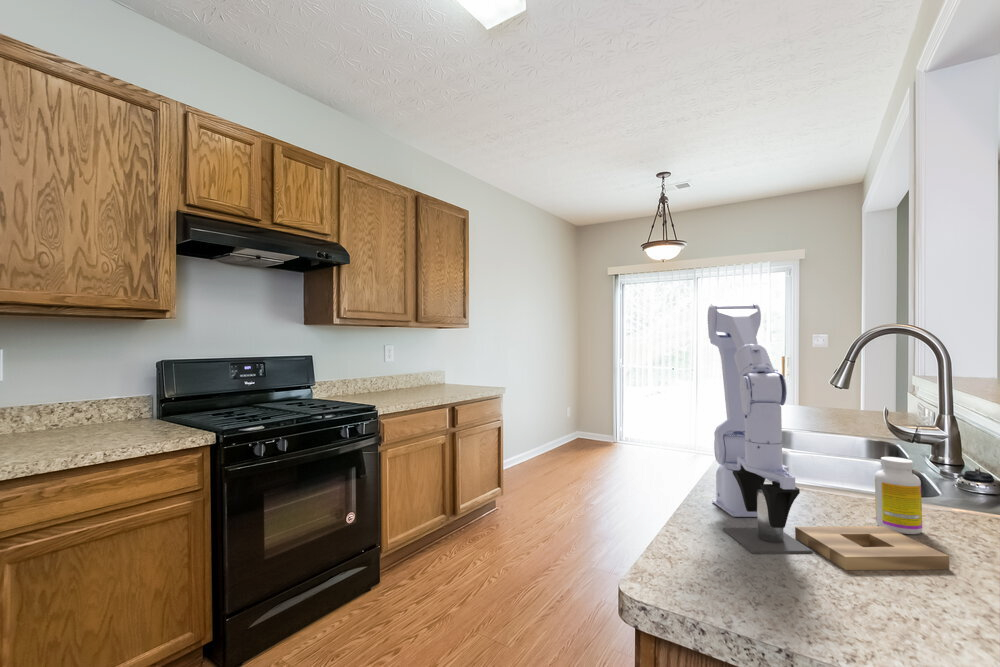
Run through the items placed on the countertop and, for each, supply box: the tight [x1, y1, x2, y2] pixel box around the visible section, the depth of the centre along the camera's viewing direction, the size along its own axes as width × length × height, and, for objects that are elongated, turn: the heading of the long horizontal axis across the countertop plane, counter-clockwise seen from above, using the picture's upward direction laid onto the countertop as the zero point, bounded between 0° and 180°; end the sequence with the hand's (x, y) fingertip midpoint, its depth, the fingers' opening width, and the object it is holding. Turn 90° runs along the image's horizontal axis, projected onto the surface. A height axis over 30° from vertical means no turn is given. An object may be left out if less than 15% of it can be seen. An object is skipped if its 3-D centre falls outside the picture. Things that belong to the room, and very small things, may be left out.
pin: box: [756, 489, 785, 543], centre depth 83 cm, size 4×4×8 cm
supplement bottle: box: [874, 456, 923, 535], centre depth 88 cm, size 7×7×13 cm
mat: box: [722, 527, 814, 555], centre depth 83 cm, size 10×10×1 cm
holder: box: [794, 525, 950, 571], centre depth 78 cm, size 12×16×2 cm
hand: (764, 518), depth 83 cm, fingers open, 7 cm apart
